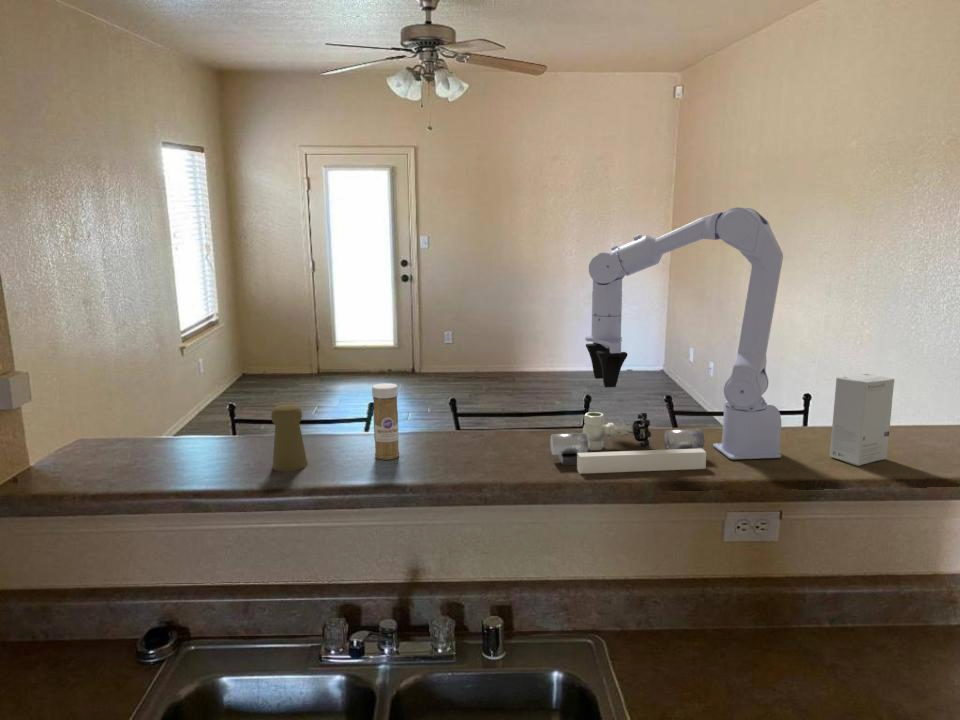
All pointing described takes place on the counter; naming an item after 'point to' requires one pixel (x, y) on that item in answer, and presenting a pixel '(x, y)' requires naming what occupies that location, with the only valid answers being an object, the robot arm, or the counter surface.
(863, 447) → the skincare box
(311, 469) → the counter surface
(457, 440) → the counter surface
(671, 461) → the bar
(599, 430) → the valve
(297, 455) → the cork
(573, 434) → the pipe stubs
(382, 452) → the sprinkles bottle
